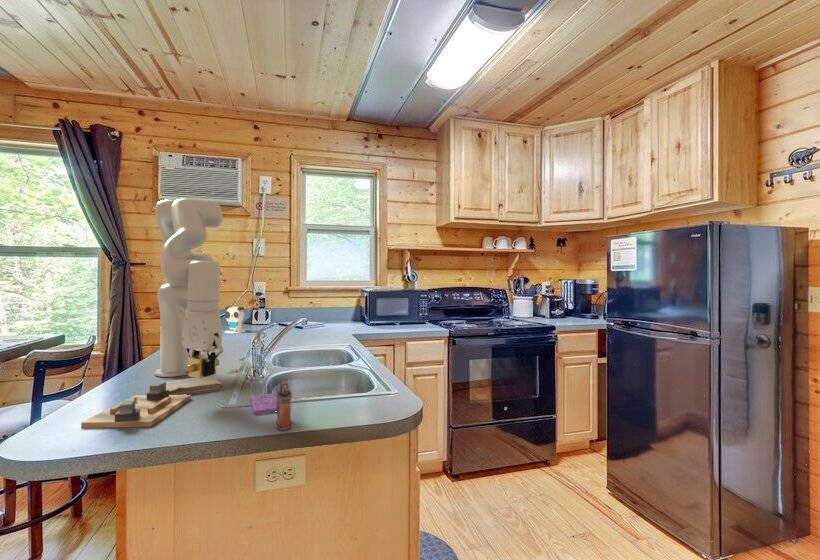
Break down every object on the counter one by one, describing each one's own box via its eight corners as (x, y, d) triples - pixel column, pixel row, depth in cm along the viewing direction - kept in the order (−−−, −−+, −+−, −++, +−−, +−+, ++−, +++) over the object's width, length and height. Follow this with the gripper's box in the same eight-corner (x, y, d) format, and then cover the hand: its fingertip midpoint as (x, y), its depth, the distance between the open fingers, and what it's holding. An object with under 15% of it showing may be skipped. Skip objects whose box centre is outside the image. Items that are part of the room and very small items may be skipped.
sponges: (276, 399, 114) (276, 392, 114) (282, 413, 102) (282, 406, 102) (250, 402, 111) (250, 395, 111) (253, 417, 99) (253, 410, 99)
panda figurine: (219, 332, 231) (219, 306, 231) (234, 329, 242) (235, 305, 241) (234, 333, 226) (234, 307, 226) (249, 331, 237) (249, 306, 237)
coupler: (192, 380, 102) (192, 361, 101) (181, 377, 103) (181, 358, 103) (222, 372, 110) (222, 354, 109) (211, 369, 112) (211, 352, 111)
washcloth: (151, 391, 119) (151, 380, 119) (216, 382, 130) (216, 372, 130) (153, 401, 110) (153, 390, 110) (223, 391, 120) (224, 381, 120)
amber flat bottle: (275, 420, 96) (276, 379, 96) (290, 418, 98) (290, 378, 97) (276, 432, 89) (277, 388, 89) (292, 430, 90) (293, 387, 90)
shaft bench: (134, 399, 109) (134, 381, 109) (190, 399, 111) (191, 380, 111) (80, 428, 89) (80, 405, 89) (150, 426, 91) (150, 404, 91)
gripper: (169, 305, 106) (168, 372, 107) (213, 310, 99) (211, 382, 100) (195, 302, 113) (193, 366, 113) (237, 308, 106) (236, 375, 106)
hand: (202, 373), depth 107 cm, fingers closed on coupler, 4 cm apart
